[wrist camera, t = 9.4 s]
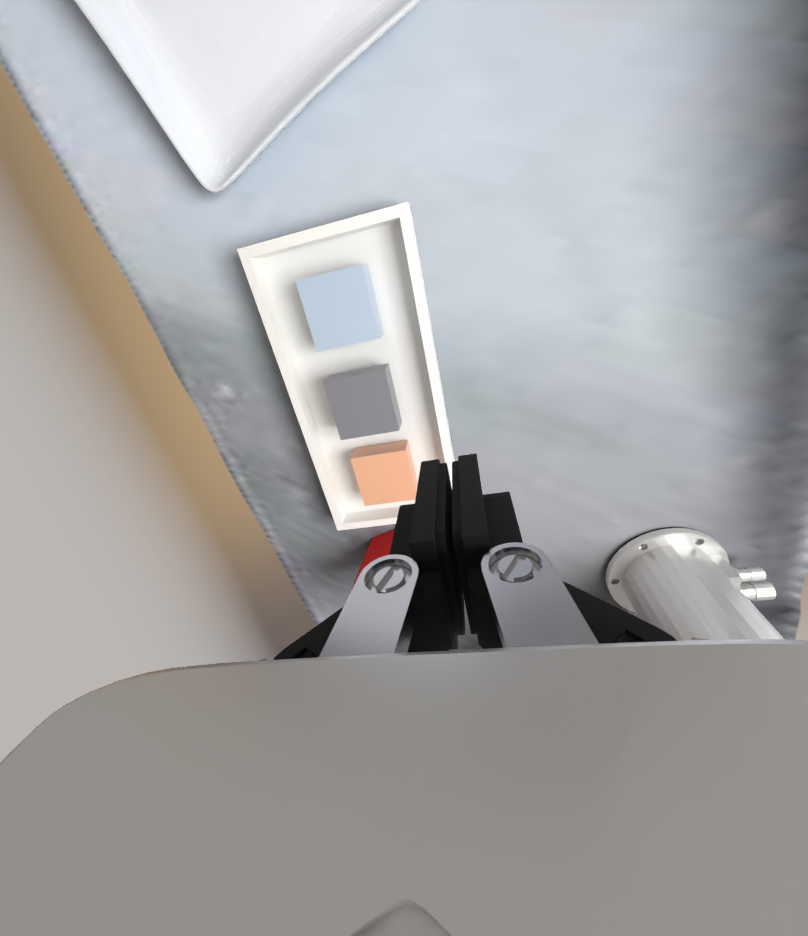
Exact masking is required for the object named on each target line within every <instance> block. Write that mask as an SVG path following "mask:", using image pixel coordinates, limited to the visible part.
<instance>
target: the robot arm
mask: <svg viewBox="0 0 808 936" xmlns="http://www.w3.org/2000/svg"><path fill="white" fill-rule="evenodd" d="M458 460H459V461H454V462H452V487H451V482H450V476H449V471H448V466H447V463H440V460H439V459H436V460H429V461H422V462H421V466H420V473H419V479H418V486H417V492H416V499H415V504H407V505H401V506H400V508H399V511H398V516H397V521H396V525H395V530H394V534H393V539H392V544H391V548H390V553H389V555H387V556H383V557H380V558H378V559H376V560H374V561H372V562H371V563H369V564H368V565H367V566H366V567H365V568H364V569H363V570H362V572H361V573H360V575H359V577H358V579H357V581H356V583H355V585H354V587H353V589H352V591H351V593H350V595H349V597H348V599H347V601H346V603H345V605H344V607H342V608H341V609H340V610H338V611H337V612H335V613H334V614H333V615H331V616H330V617H328V618H327V619H326V620H324V621H323V622H321V623H320V624H319V625H317V626H316V627H314V628H313V629H312V630H310V631H309V632H307V633H306V634H305V635H303V636H302V637H301V638H299V639H298V640H296V641H295V642H293V643H292V644H291V645H289V646H288V647H287V648H285V649H284V650H283V651H282V652H280V653H279V654H278V655H277V656H276V657H275V658H274V660H267V659H263V660H259V661H247V662H231V663H218V664H209V665H199V666H187V667H177V668H170V669H164V670H158V671H153V672H148V673H144V674H140V675H137V676H133V677H130V678H126V679H123V680H119V681H117V682H114V683H112V684H109V685H107V686H104V687H102V688H99V689H97V690H94V691H92V692H89V693H87V694H85V695H83V696H81V697H79V698H77V699H75V700H74V701H72V702H70V703H68V704H66V705H65V706H63V707H61V708H60V709H58V710H57V711H56V712H54V713H53V714H52V715H50V716H49V717H48V718H47V719H45V720H44V721H43V722H42V723H41V724H40V725H39V726H37V727H36V728H35V729H34V730H33V731H32V732H31V733H30V734H29V735H28V736H27V737H26V738H25V739H24V740H23V741H22V742H21V743H20V744H19V745H18V746H17V747H16V748H15V749H14V750H13V751H12V752H10V753H9V755H7V757H6V758H5V759H4V760H3V761H2V762H1V763H0V936H808V641H803V640H785V639H784V638H783V637H782V636H781V635H780V634H779V633H778V632H777V631H776V629H775V628H774V627H773V626H772V625H771V624H770V623H769V622H768V621H767V619H766V618H765V617H764V616H763V615H762V614H761V613H760V612H759V611H758V610H757V608H756V607H755V606H754V605H753V604H752V603H751V602H750V601H749V600H753V601H757V600H772V599H775V597H776V591H775V589H774V587H773V585H772V584H771V583H770V582H768V581H758V580H765V579H766V574H765V571H764V570H763V569H762V568H761V567H752V568H744V569H736V568H735V567H731V566H730V565H729V559H728V555H727V553H726V552H725V550H724V549H723V547H722V546H721V545H720V544H719V543H718V542H717V541H716V540H715V539H713V538H712V537H710V536H709V535H707V534H705V533H702V532H700V531H697V530H692V529H687V528H669V529H661V530H657V531H653V532H649V533H647V534H644V535H641V536H639V537H637V538H635V539H633V540H632V541H630V542H628V543H627V544H626V545H624V546H623V547H622V548H620V549H619V550H618V552H617V553H616V554H615V555H614V556H613V557H612V559H611V561H610V562H609V564H608V567H607V569H606V575H605V580H606V586H607V588H608V590H609V592H610V594H611V596H612V597H613V599H614V600H615V601H616V602H617V603H618V604H619V605H620V606H622V607H623V608H625V609H627V610H629V611H631V612H634V613H637V615H638V617H639V618H637V617H635V616H633V615H631V614H629V613H627V612H625V611H623V610H621V609H619V608H617V607H615V606H613V605H611V604H609V603H606V602H604V601H602V600H600V599H598V598H596V597H594V596H592V595H590V594H588V593H586V592H584V591H582V590H580V589H578V588H576V587H573V586H571V585H569V584H567V583H565V582H563V581H562V580H561V578H560V576H559V575H558V573H557V571H556V570H555V568H554V566H553V565H552V563H551V561H550V560H549V558H548V556H547V555H546V554H545V553H544V552H543V551H542V550H540V549H539V548H537V547H535V546H533V545H529V544H526V543H523V542H522V538H521V534H520V530H519V526H518V523H517V519H516V515H515V511H514V508H513V504H512V500H511V496H510V493H509V492H502V493H494V494H486V495H482V489H481V482H480V475H479V468H478V461H477V455H476V454H470V455H463V456H458ZM741 581H757V582H746V583H744V584H741ZM464 600H465V605H466V610H467V615H468V620H469V625H470V630H471V634H477V636H478V641H479V645H480V646H481V647H482V648H484V649H472V650H451V651H448V650H450V649H458V635H465V618H464Z"/></svg>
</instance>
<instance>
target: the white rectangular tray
mask: <svg viewBox="0 0 808 936" xmlns="http://www.w3.org/2000/svg"><path fill="white" fill-rule="evenodd" d="M237 251H238V254H239V257H240V259H241V262H242V265H243V268H244V271H245V273H246V276H247V279H248V282H249V285H250V287H251V290H252V293H253V296H254V299H255V301H256V304H257V307H258V310H259V313H260V315H261V318H262V321H263V324H264V326H265V329H266V332H267V335H268V338H269V340H270V343H271V346H272V349H273V352H274V354H275V357H276V360H277V363H278V366H279V368H280V371H281V374H282V377H283V380H284V382H285V385H286V388H287V391H288V393H289V396H290V399H291V402H292V405H293V407H294V410H295V413H296V416H297V419H298V421H299V424H300V427H301V430H302V433H303V435H304V438H305V441H306V444H307V446H308V449H309V452H310V455H311V458H312V460H313V463H314V466H315V469H316V472H317V474H318V477H319V480H320V483H321V486H322V488H323V491H324V494H325V497H326V500H327V502H328V505H329V508H330V511H331V513H332V516H333V519H334V522H335V525H336V527H337V530H346V529H355V528H363V527H372V526H380V525H388V524H396V521H397V516H398V511H399V508H400V506H401V505H407V504H415V500H408V501H400V502H393V503H385V504H377V505H369V506H365V505H364V502H363V499H362V496H361V492H360V489H359V486H358V483H357V479H356V476H355V473H354V470H353V466H352V463H351V460H350V458H351V456H352V454H353V452H354V450H355V448H361V447H367V446H374V445H380V444H386V443H392V442H399V441H405V440H408V442H409V447H410V451H411V456H412V460H413V464H414V469H415V473H416V478H417V482H418V479H419V473H420V466H421V462H422V461H429V460H436V459H439V460H440V463H447V466H448V471H449V476H450V482H451V487H452V462H454V461H455V458H454V453H453V447H452V441H451V435H450V429H449V424H448V418H447V412H446V406H445V400H444V395H443V389H442V383H441V377H440V371H439V365H438V360H437V354H436V348H435V342H434V336H433V331H432V325H431V319H430V313H429V307H428V302H427V296H426V290H425V284H424V278H423V273H422V267H421V261H420V255H419V249H418V244H417V238H416V232H415V226H414V220H413V215H412V209H411V206H410V204H409V203H408V202H405V203H401V204H398V205H394V206H390V207H387V208H383V209H380V210H376V211H372V212H369V213H365V214H362V215H358V216H354V217H351V218H347V219H344V220H340V221H336V222H333V223H329V224H326V225H322V226H318V227H315V228H311V229H308V230H304V231H300V232H297V233H293V234H290V235H286V236H282V237H279V238H275V239H272V240H268V241H264V242H261V243H257V244H254V245H250V246H246V247H243V248H239V249H237ZM360 264H368V267H369V271H370V275H371V280H372V284H373V289H374V293H375V297H376V302H377V306H378V311H379V315H380V319H381V324H382V328H383V333H384V334H383V336H382V337H381V338H380V339H375V340H371V341H366V342H361V343H357V344H352V345H347V346H342V347H338V348H333V349H328V350H324V351H319V352H317V350H316V347H315V344H314V340H313V337H312V334H311V331H310V327H309V324H308V321H307V318H306V314H305V311H304V308H303V305H302V301H301V298H300V295H299V292H298V288H297V285H296V282H295V281H297V280H301V279H305V278H309V277H313V276H317V275H321V274H325V273H329V272H333V271H337V270H341V269H345V268H349V267H352V266H356V265H360ZM387 363H389V367H390V371H391V376H392V380H393V384H394V389H395V393H396V397H397V402H398V406H399V410H400V415H401V419H402V423H401V426H400V430H399V431H394V432H388V433H382V434H376V435H370V436H364V437H358V438H352V439H346V440H341V439H340V436H339V433H338V429H337V426H336V423H335V420H334V417H333V413H332V410H331V407H330V404H329V401H328V397H327V394H326V391H325V388H324V385H323V381H324V380H325V379H326V378H327V377H328V376H329V375H332V374H337V373H342V372H347V371H352V370H357V369H362V368H367V367H372V366H377V365H382V364H387Z"/></svg>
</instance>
